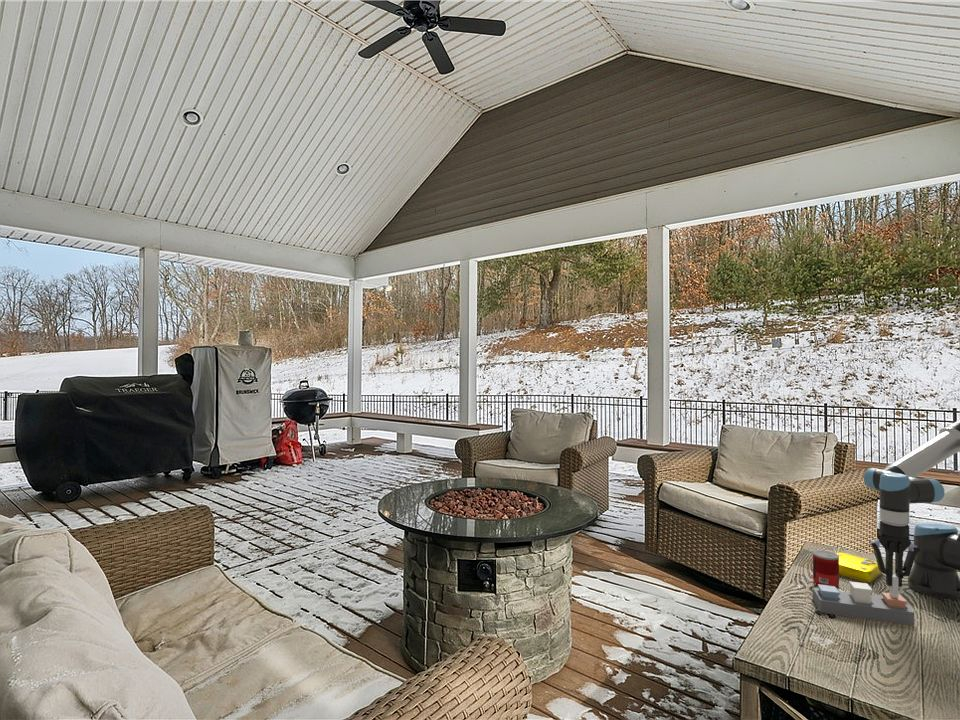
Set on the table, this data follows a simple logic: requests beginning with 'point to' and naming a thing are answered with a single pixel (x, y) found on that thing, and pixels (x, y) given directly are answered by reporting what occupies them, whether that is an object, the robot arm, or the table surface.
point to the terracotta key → (894, 601)
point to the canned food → (826, 568)
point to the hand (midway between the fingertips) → (893, 595)
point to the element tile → (858, 567)
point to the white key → (860, 592)
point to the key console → (863, 608)
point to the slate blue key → (828, 592)
